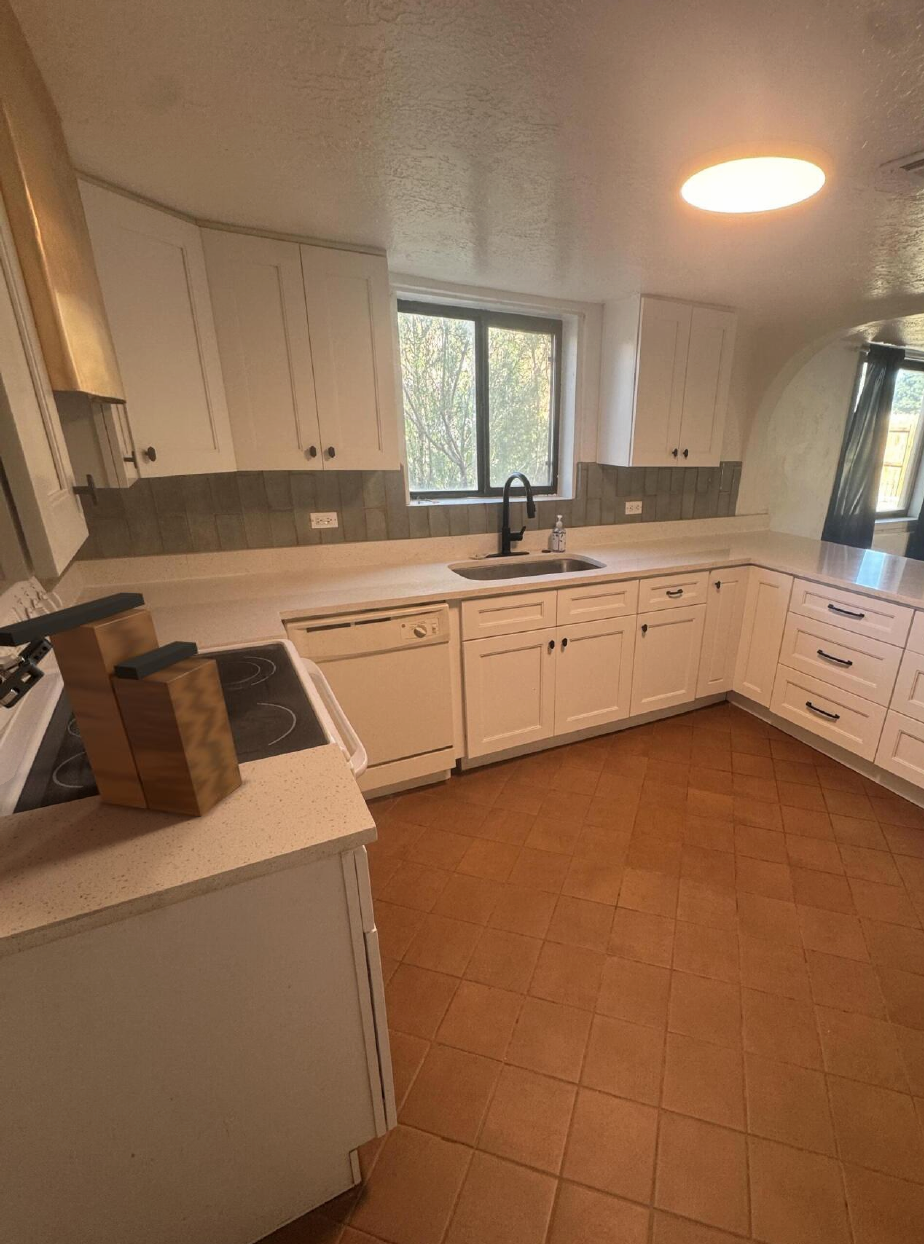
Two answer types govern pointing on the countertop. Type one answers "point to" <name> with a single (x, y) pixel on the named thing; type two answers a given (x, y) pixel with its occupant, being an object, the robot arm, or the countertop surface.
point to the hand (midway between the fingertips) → (21, 638)
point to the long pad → (68, 618)
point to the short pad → (155, 660)
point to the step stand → (147, 719)
